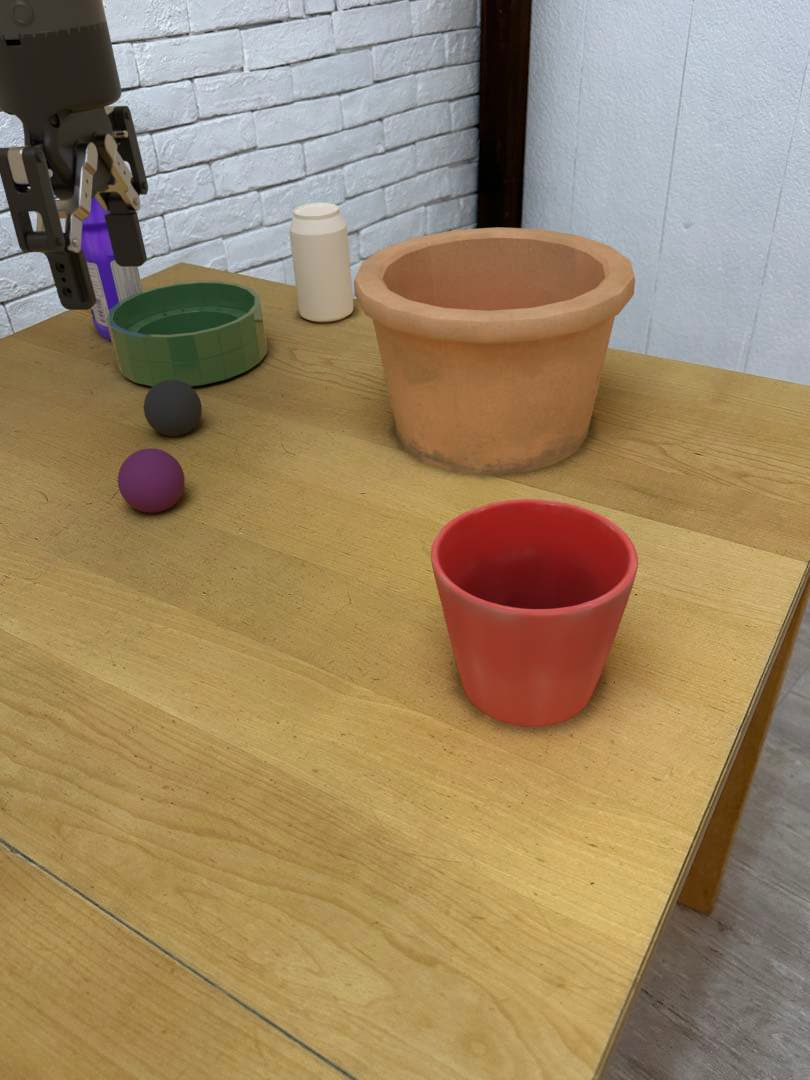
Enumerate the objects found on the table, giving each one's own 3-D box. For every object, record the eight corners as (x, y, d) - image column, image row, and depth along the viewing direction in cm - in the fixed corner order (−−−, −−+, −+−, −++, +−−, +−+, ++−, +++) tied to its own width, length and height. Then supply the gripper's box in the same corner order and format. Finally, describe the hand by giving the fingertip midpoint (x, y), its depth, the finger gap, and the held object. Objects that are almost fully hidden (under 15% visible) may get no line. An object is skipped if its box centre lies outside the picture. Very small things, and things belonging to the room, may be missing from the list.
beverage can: (314, 332, 100) (301, 221, 93) (291, 315, 104) (277, 207, 97) (364, 319, 102) (355, 210, 95) (339, 303, 106) (329, 197, 99)
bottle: (160, 336, 100) (125, 172, 90) (111, 350, 98) (69, 182, 88) (137, 318, 106) (101, 160, 95) (89, 330, 103) (47, 170, 93)
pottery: (509, 356, 92) (512, 211, 83) (673, 440, 76) (696, 272, 68) (323, 419, 83) (305, 263, 74) (466, 528, 67) (464, 346, 59)
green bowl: (95, 392, 90) (80, 335, 86) (155, 332, 102) (143, 280, 98) (242, 397, 87) (232, 338, 84) (285, 335, 99) (278, 281, 96)
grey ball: (141, 445, 80) (128, 394, 77) (162, 419, 84) (151, 369, 81) (194, 448, 79) (183, 396, 76) (213, 421, 83) (204, 371, 80)
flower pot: (483, 604, 60) (484, 478, 54) (645, 656, 55) (664, 524, 50) (402, 707, 53) (393, 574, 47) (581, 777, 48) (594, 639, 42)
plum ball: (115, 523, 70) (99, 467, 67) (141, 489, 74) (127, 435, 71) (176, 527, 69) (163, 471, 66) (199, 492, 73) (187, 438, 70)
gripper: (41, 11, 60) (101, 253, 70) (-87, 38, 49) (6, 324, 58) (146, 5, 59) (194, 253, 68) (40, 31, 48) (114, 324, 57)
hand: (107, 285), depth 63 cm, fingers open, 8 cm apart
